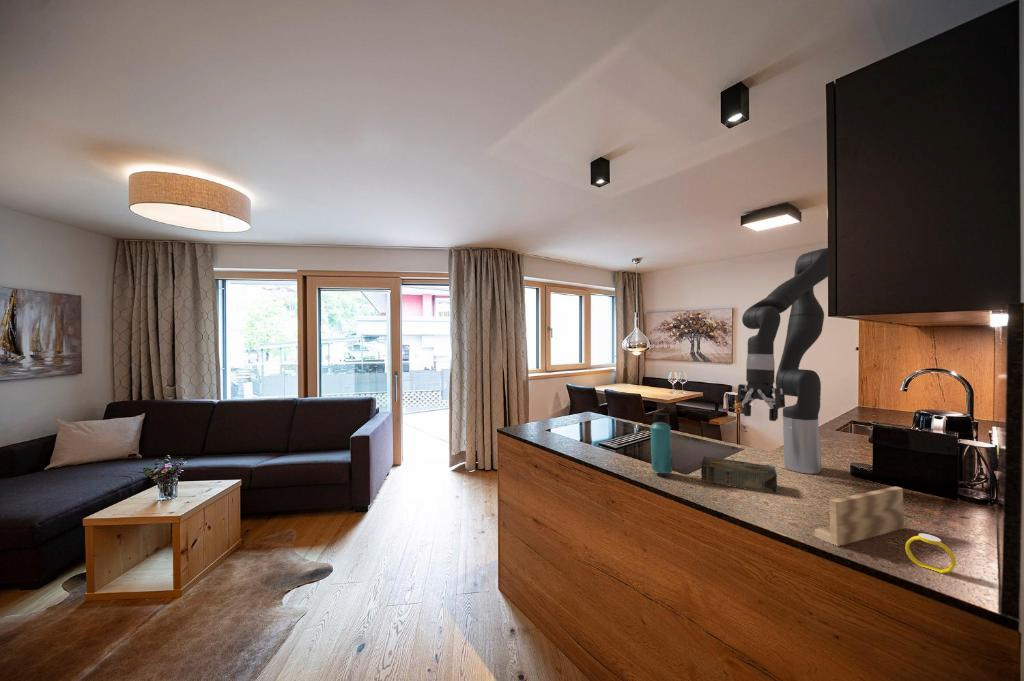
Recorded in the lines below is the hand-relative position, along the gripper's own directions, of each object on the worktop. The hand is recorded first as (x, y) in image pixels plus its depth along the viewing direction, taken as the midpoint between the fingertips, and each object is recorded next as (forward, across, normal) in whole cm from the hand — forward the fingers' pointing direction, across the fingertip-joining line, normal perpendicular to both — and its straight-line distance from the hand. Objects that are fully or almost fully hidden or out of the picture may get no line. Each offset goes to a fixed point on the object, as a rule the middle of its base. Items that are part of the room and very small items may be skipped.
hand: (759, 418), depth 116 cm
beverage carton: (+19, -4, +13) cm, 23 cm away
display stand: (+19, -34, +13) cm, 41 cm away
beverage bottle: (+20, +11, +29) cm, 37 cm away
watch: (+19, -46, +17) cm, 53 cm away
